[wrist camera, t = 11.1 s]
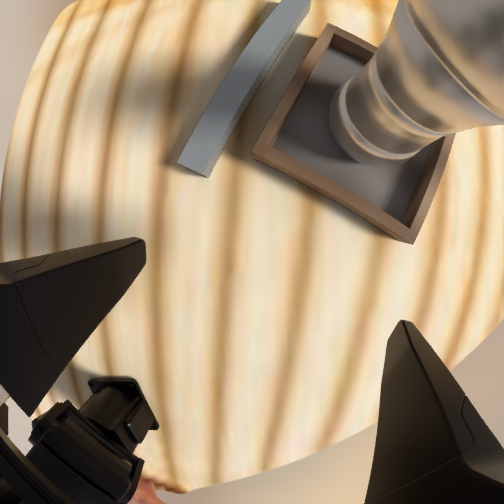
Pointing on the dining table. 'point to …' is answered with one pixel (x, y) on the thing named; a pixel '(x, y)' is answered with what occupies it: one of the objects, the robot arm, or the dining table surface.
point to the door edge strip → (241, 86)
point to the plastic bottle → (424, 81)
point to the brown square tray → (334, 158)
